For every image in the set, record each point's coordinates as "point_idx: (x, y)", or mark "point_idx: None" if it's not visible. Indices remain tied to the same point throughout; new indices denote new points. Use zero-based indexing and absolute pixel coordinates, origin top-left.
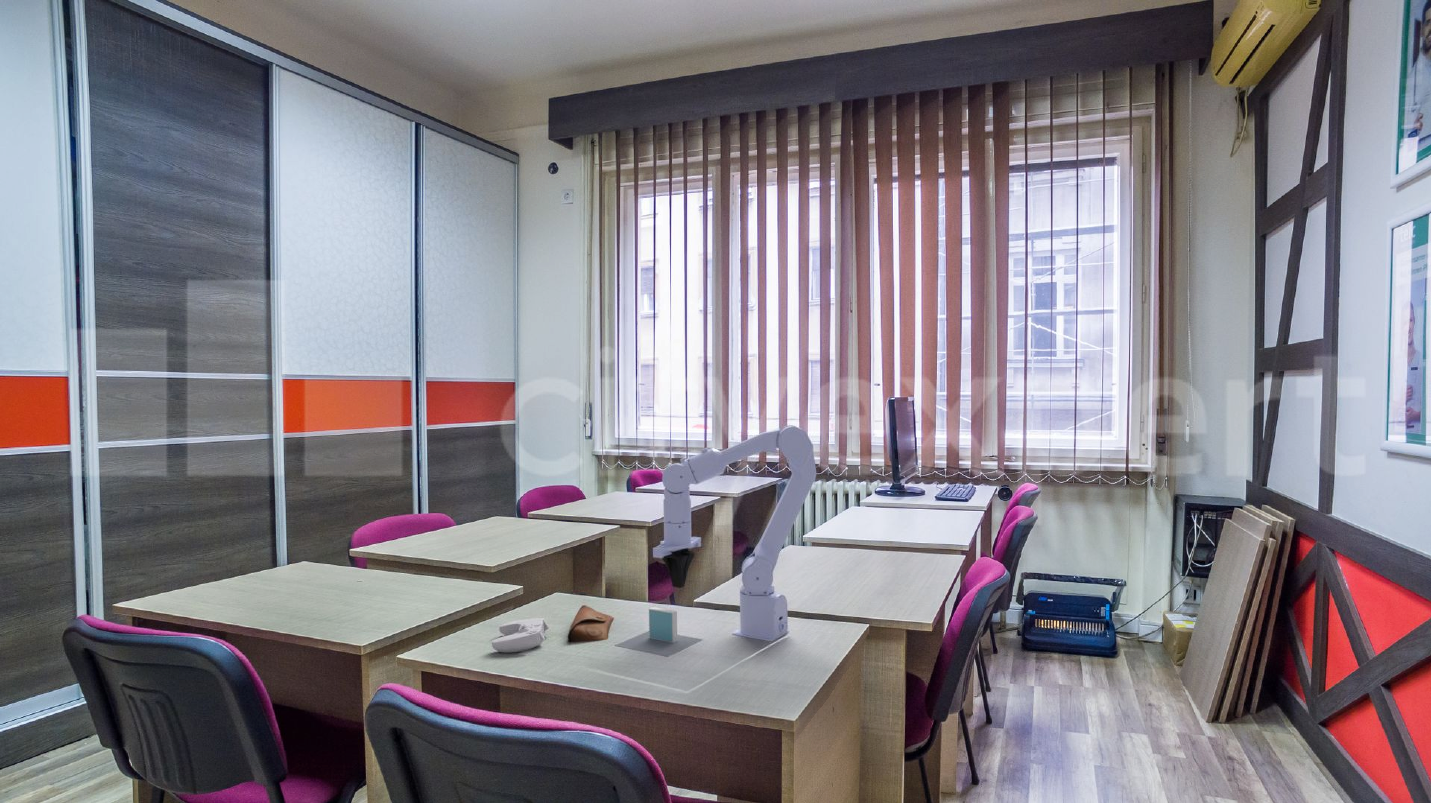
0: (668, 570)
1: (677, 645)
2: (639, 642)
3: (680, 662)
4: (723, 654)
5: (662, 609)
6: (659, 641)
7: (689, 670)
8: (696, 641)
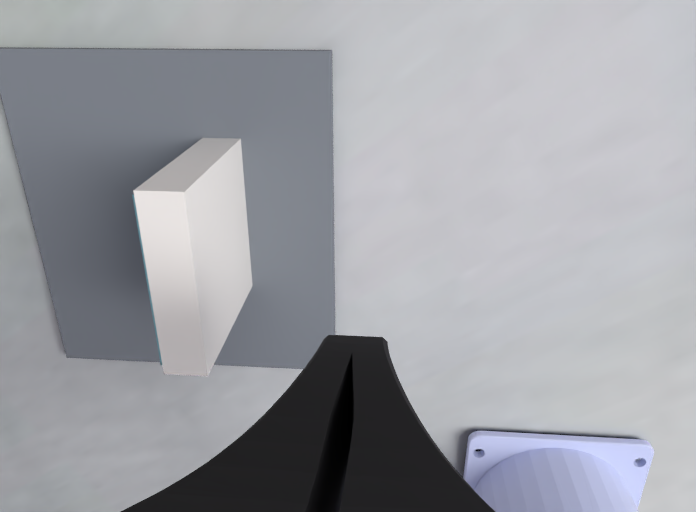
0: (255, 424)
1: None
2: (114, 138)
3: (76, 409)
4: None
5: (176, 285)
6: None
7: (41, 466)
8: (295, 359)
